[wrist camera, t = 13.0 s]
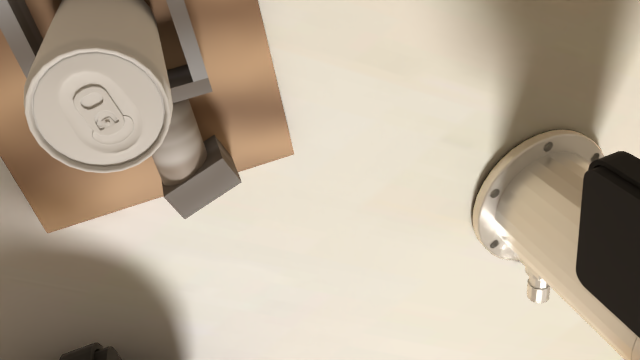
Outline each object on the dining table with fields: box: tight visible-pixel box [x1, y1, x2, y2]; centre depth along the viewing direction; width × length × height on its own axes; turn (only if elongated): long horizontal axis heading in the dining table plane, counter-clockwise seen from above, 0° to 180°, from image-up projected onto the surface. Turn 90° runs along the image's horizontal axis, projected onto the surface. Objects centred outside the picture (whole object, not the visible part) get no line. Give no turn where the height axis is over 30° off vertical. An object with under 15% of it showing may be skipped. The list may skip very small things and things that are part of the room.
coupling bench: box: [0, 0, 294, 233], centre depth 27 cm, size 22×16×4 cm
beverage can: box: [24, 0, 173, 173], centre depth 23 cm, size 5×5×12 cm
